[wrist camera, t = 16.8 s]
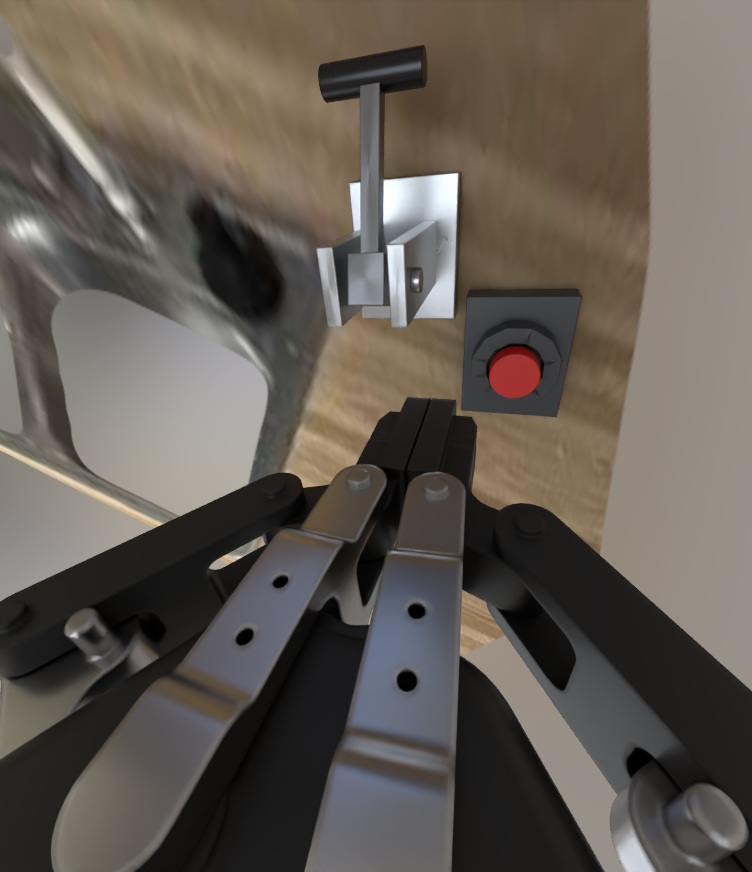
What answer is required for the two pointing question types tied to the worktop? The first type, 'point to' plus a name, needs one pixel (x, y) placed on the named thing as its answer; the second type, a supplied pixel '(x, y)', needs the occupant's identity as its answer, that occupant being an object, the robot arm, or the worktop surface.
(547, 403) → the button block
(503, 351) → the button
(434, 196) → the lever bracket
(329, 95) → the press lever
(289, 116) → the worktop surface
